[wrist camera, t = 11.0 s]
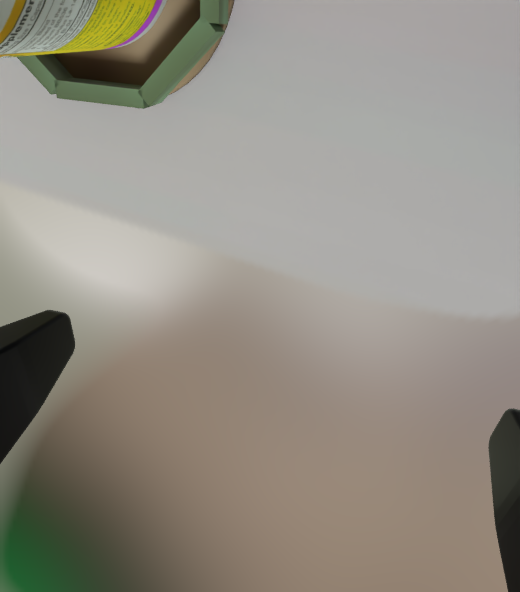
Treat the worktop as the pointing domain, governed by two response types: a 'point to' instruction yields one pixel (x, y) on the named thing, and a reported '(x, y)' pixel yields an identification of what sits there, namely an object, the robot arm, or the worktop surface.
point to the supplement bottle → (73, 25)
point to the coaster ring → (139, 59)
